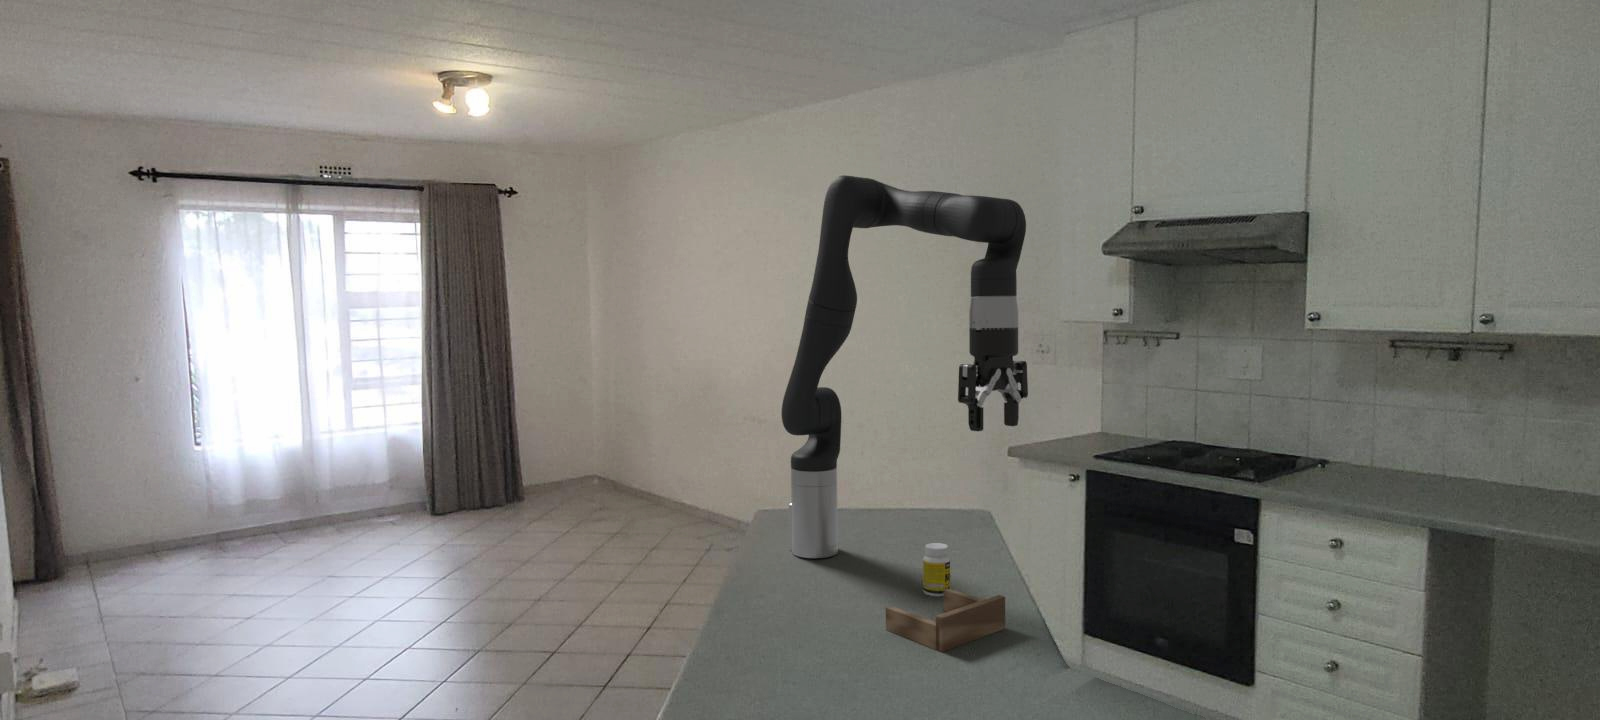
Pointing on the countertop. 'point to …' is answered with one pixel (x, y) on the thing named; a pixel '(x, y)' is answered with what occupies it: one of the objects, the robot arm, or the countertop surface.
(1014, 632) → the countertop surface
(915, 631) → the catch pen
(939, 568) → the supplement bottle
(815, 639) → the countertop surface
